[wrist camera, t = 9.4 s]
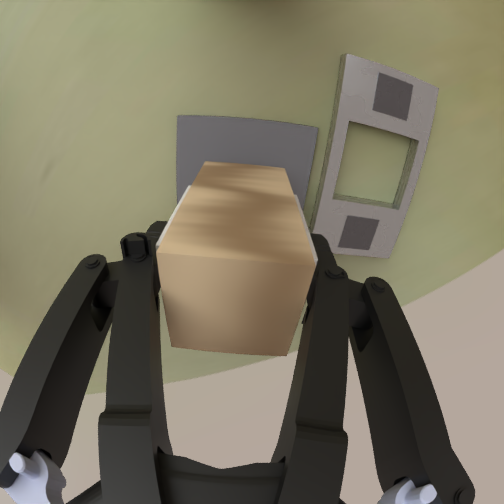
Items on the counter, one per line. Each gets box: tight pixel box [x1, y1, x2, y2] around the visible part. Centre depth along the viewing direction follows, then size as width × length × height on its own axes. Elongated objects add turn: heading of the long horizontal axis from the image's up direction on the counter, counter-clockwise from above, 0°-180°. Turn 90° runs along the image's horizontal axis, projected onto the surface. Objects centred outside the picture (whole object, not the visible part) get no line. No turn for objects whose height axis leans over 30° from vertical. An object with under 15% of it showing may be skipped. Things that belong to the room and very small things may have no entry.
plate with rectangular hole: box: [309, 54, 439, 258], centre depth 19 cm, size 8×16×1 cm, turn 174°
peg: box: [156, 161, 316, 356], centre depth 14 cm, size 5×5×10 cm
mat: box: [176, 115, 318, 212], centre depth 20 cm, size 10×10×1 cm
